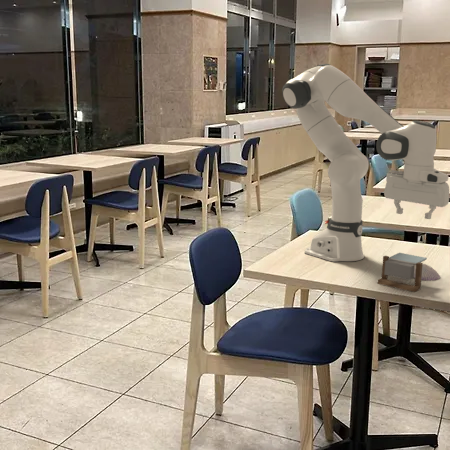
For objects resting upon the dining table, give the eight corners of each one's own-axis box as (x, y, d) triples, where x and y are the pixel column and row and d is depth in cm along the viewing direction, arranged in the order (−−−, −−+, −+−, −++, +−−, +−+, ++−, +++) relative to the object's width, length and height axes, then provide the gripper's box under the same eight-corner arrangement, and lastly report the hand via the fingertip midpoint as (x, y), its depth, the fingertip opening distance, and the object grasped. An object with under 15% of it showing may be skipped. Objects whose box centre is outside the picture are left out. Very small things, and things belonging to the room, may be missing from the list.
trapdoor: (383, 274, 185) (384, 259, 184) (398, 266, 194) (399, 252, 193) (411, 280, 179) (412, 265, 178) (425, 272, 188) (426, 257, 187)
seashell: (419, 261, 202) (445, 261, 194) (421, 276, 202) (446, 277, 194) (401, 265, 196) (427, 266, 188) (403, 281, 196) (428, 282, 188)
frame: (377, 283, 187) (379, 258, 185) (383, 280, 190) (385, 255, 188) (414, 292, 179) (417, 266, 177) (420, 288, 182) (422, 263, 180)
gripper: (383, 170, 185) (378, 212, 189) (446, 178, 172) (440, 223, 176) (391, 168, 190) (387, 209, 193) (453, 176, 177) (448, 220, 180)
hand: (413, 216), depth 184 cm, fingers open, 8 cm apart
